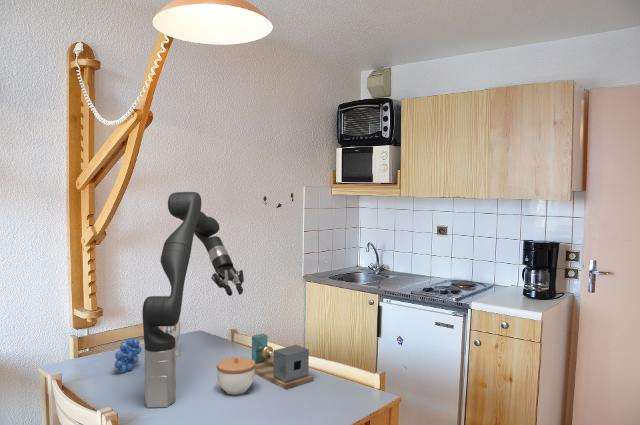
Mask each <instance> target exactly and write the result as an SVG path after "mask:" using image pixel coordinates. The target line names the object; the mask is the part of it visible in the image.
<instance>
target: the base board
mask: <svg viewBox="0 0 640 425" xmlns="http://www.w3.org/2000/svg"><path fill="white" fill-rule="evenodd" d="M254 375H257V376H258V377H260V378H263V379H264V380H266V381H268V382H270V383H272V384H274V385H276V386H278V387H279V386H280V388H281V387H282V388H281V389H283V388H284V389H283V390H285V389H286V390H290V389H293V388H296V387H299V386H302V385H305V384H304V383H306V384H308V383H307V382H309V383H311V382H310V381H312V382H314V376H313V375H310V374H308V377H304V378H301V379H298V380H295V381H292V382H288V383H284V382H282V381H280V380H278V379H276V378H274V358H272V357H270V358H267V360H265V361H262V362H258V363H255V374H254ZM301 384H302V385H301ZM298 385H299V386H298ZM295 386H296V387H295ZM292 387H293V388H292ZM289 388H290V389H289Z"/></svg>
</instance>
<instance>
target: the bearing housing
mask: <svg viewBox="0 0 640 425" xmlns="http://www.w3.org/2000/svg"><path fill="white" fill-rule="evenodd" d="M273 352H274V358H273V359H274V378H276V379H278V380H280V381H282V382H284V383H288V382H292V381H295V380H298V379H301V378H304V377H308V375H309V364H310V362H309V360H310V359H309V358H310V357H309V354H310V353H309V352H310V350H309V348H305V347H304V346H301V345H298V344H293V345H290V346H285V347H281V348H278V349H273Z"/></svg>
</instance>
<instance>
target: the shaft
mask: <svg viewBox="0 0 640 425" xmlns="http://www.w3.org/2000/svg"><path fill="white" fill-rule="evenodd" d="M270 357H271V358H273V359H274V348H273V347H272V346H269V345H268V334H265V333H261V334H259V333H258V334H256V335H255V334H254V335H252V336H251V359H252V360H254V362H255V363H258V362H262V361H265V360H267V358H270Z"/></svg>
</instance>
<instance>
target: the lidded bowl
mask: <svg viewBox="0 0 640 425" xmlns="http://www.w3.org/2000/svg"><path fill="white" fill-rule="evenodd" d="M216 372H217V374H216V375H217V381H218V384H219V386H220V388H221V389H223V390H224V391H225V393H226V394H228V395H234V396H235V395H241V394H245V393H246V392H247V391H248V389H249V388H250V387H251V386H252V384H253V382H254V379H255V375H256V374H255V362H254V360H252V358H250V357H242V356H235V357H234V356H233V357H227V358H224V359H221V360H219V361H218V362H217V363H216Z"/></svg>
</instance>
